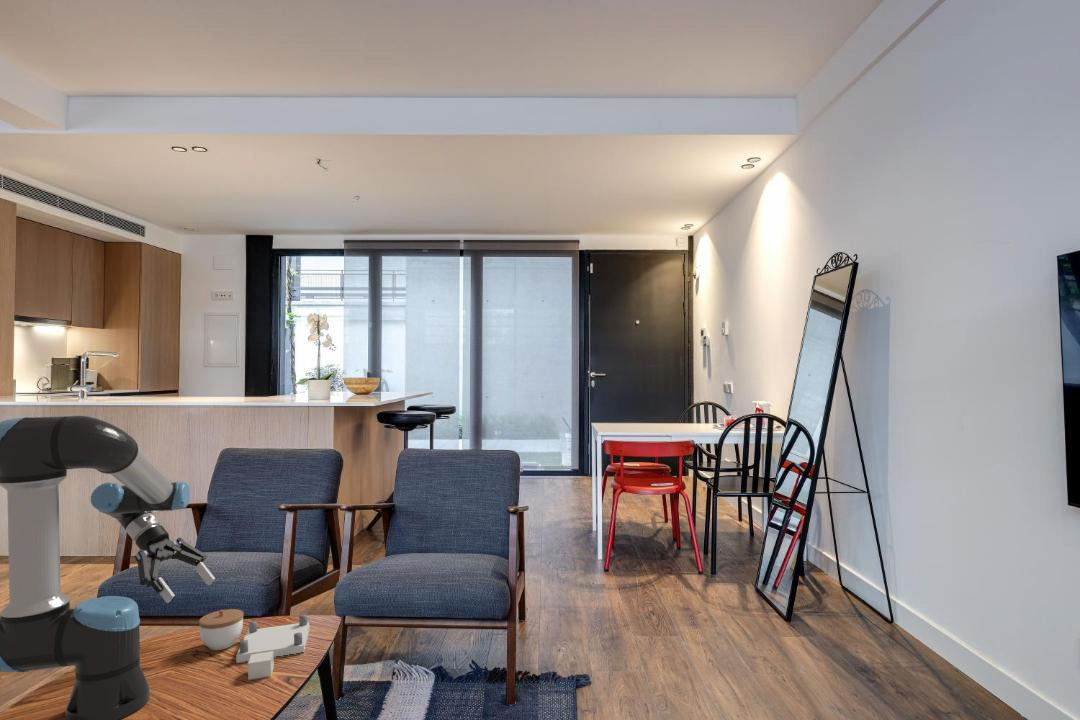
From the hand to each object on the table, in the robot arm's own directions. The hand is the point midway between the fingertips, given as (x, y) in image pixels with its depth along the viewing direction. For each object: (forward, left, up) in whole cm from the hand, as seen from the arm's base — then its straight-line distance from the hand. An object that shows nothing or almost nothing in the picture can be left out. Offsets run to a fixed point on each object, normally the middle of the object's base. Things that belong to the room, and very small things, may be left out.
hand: (192, 590), depth 169 cm
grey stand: (+22, -10, -14) cm, 28 cm away
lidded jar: (+8, -5, -14) cm, 17 cm away
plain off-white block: (+21, -26, -14) cm, 37 cm away
